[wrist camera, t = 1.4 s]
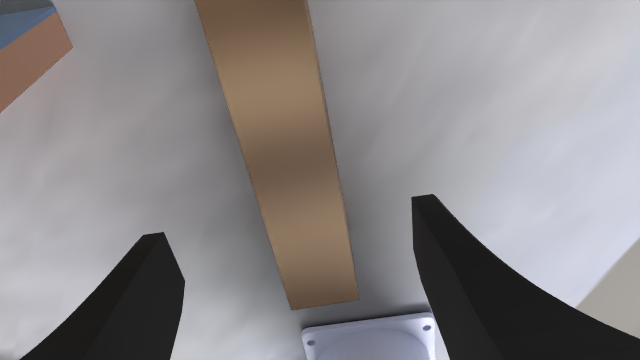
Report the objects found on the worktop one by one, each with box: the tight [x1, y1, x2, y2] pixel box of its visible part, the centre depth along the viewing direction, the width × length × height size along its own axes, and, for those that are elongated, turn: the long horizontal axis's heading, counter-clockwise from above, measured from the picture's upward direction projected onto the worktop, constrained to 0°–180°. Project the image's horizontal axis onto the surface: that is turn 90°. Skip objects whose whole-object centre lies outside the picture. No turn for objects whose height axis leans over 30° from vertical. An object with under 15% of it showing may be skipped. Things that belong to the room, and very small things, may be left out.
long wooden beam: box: [195, 0, 359, 310], centre depth 19 cm, size 14×3×5 cm, turn 10°
